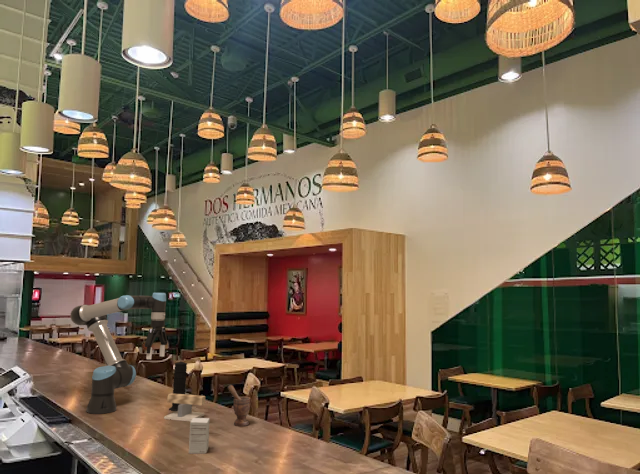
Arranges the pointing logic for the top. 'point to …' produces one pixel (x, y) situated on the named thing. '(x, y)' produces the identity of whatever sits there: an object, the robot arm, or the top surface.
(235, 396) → the mortar and pestle
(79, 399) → the top surface
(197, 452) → the supplement box
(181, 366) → the handle grip
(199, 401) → the maple bar
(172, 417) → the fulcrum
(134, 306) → the robot arm
